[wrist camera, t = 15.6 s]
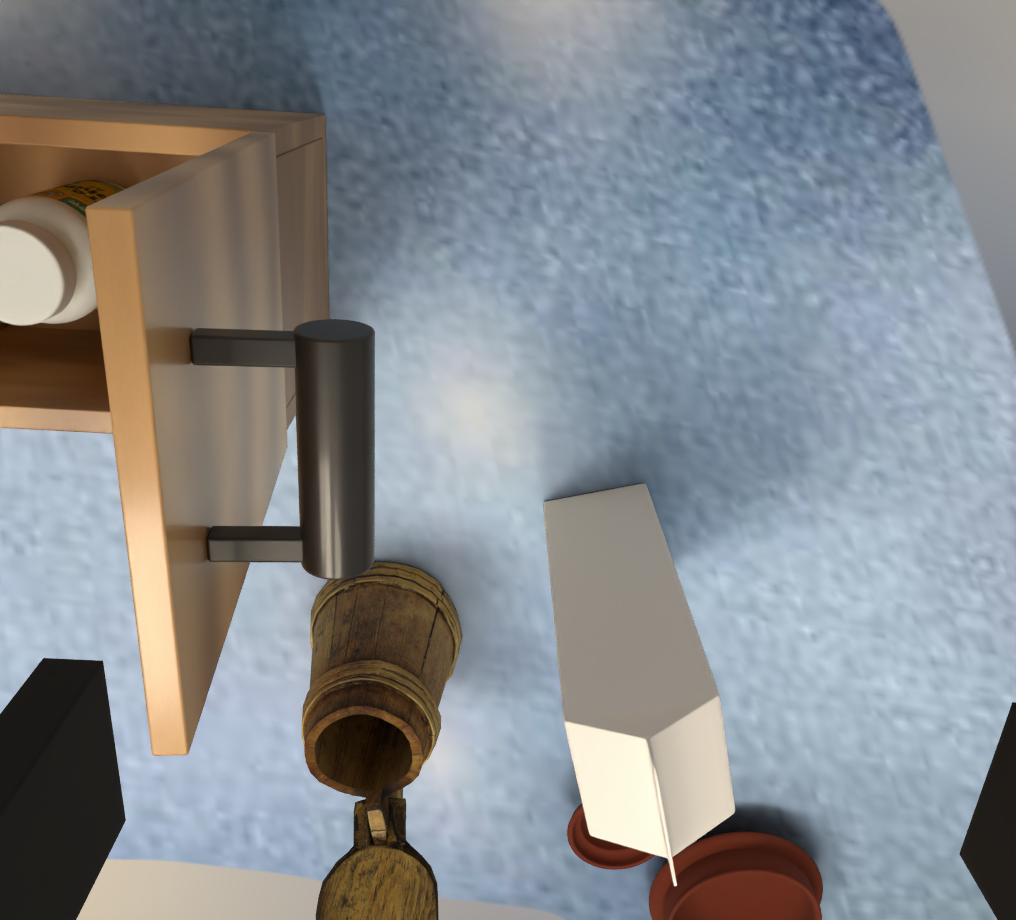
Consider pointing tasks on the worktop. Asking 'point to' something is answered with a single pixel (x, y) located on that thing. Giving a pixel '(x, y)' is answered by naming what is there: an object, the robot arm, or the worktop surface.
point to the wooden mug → (378, 728)
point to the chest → (126, 162)
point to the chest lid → (220, 413)
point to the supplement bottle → (49, 254)
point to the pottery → (718, 876)
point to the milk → (633, 677)
